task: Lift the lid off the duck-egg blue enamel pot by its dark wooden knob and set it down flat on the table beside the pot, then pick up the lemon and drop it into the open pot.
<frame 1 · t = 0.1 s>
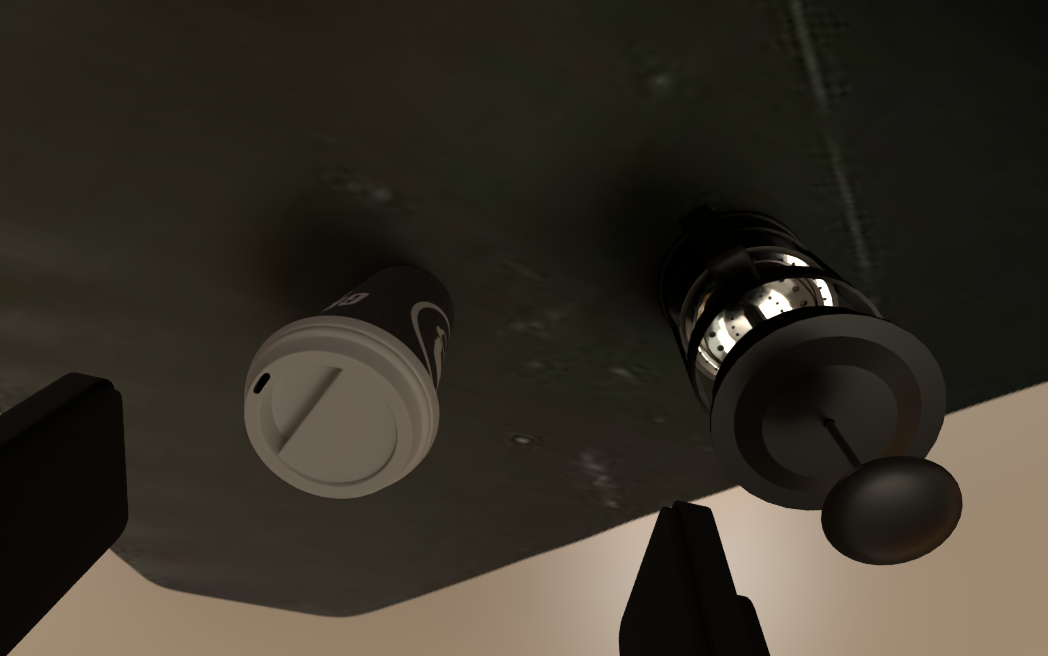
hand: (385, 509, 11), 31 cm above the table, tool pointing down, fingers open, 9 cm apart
coffee cup: (406, 310, 44), on the table
french press: (727, 276, 41), on the table
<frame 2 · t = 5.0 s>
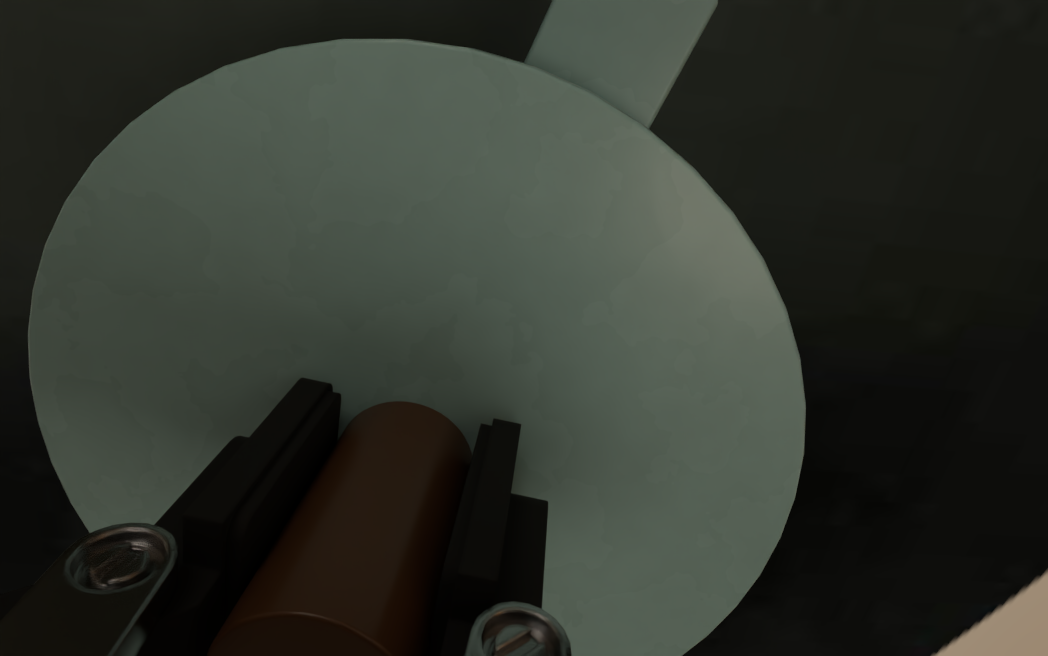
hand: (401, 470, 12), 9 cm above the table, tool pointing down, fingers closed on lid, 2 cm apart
lid: (413, 442, 13), point 9 cm above the table, touching gripper, pot
pot: (474, 297, 21), on the table
when the fingers open (6 cm above the table, at t = 24.0 s): lid stays where it is, point 1 cm above the table.
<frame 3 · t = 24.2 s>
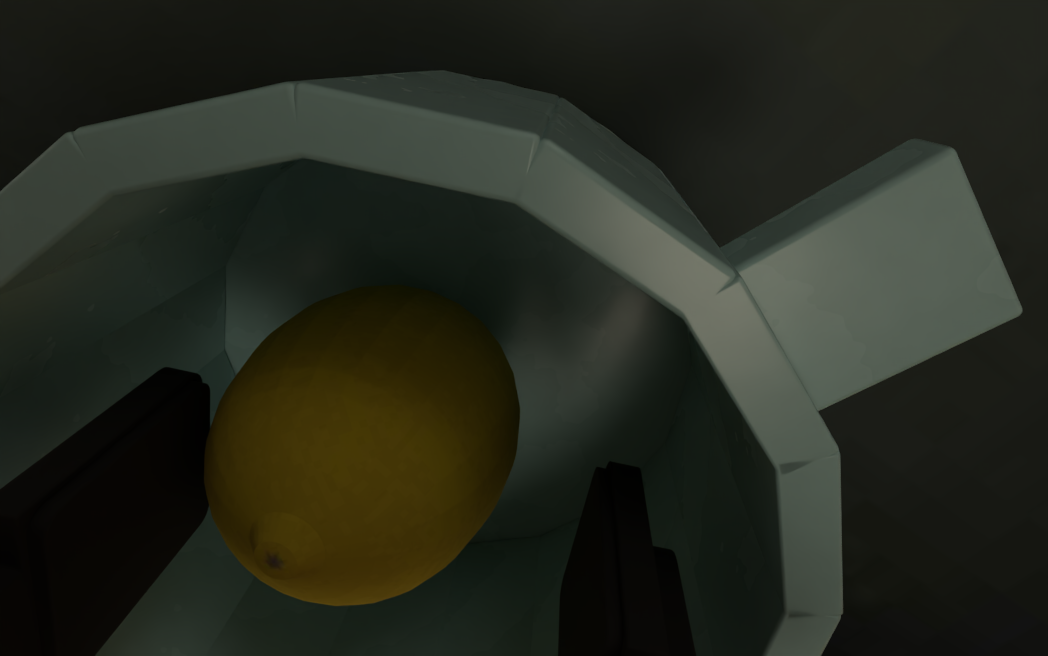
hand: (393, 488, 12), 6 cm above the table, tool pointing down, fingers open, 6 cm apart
lemon: (440, 349, 17), resting on pot, touching gripper
pot: (455, 348, 17), on the table
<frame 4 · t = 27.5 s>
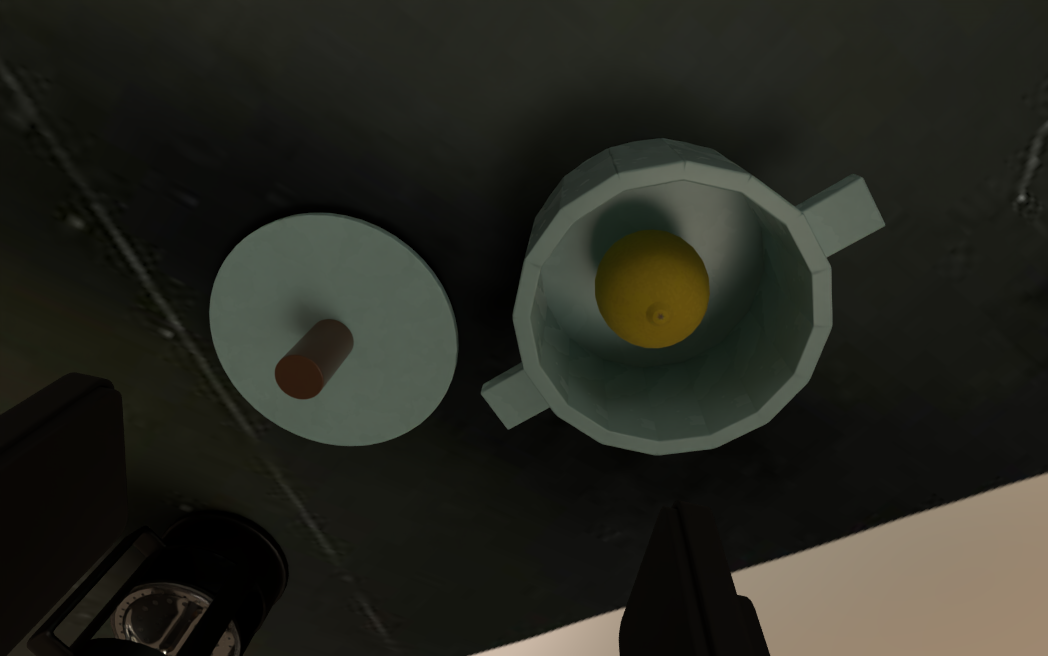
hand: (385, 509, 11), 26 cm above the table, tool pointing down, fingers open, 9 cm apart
lemon: (642, 262, 36), resting on pot
lid: (335, 335, 39), point 1 cm above the table
french press: (222, 555, 47), on the table
pot: (649, 265, 36), on the table
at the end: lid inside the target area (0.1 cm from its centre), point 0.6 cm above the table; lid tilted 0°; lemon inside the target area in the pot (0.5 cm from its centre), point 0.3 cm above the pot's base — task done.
